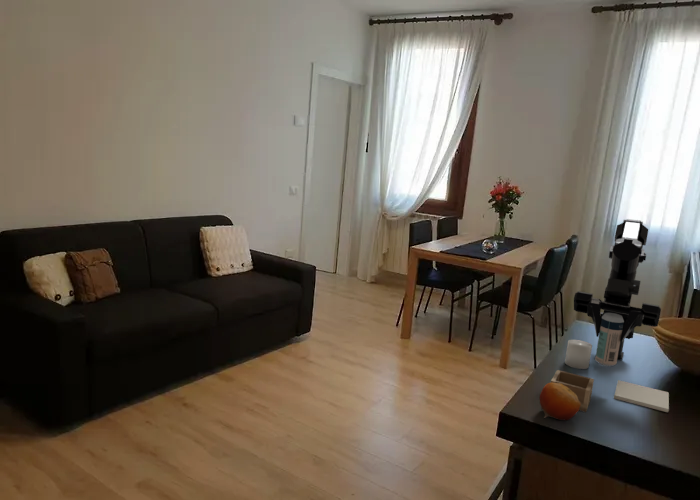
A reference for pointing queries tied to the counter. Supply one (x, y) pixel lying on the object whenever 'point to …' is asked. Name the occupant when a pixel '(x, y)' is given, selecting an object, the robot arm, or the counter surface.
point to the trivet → (642, 396)
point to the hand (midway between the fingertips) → (609, 338)
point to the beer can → (609, 339)
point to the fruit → (559, 401)
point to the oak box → (576, 386)
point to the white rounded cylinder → (578, 354)
